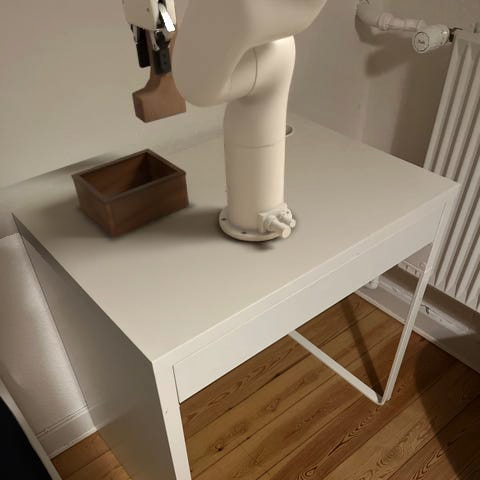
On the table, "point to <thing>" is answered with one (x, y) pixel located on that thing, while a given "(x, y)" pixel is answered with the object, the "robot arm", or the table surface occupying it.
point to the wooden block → (158, 90)
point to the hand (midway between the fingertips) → (155, 68)
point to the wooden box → (131, 191)
